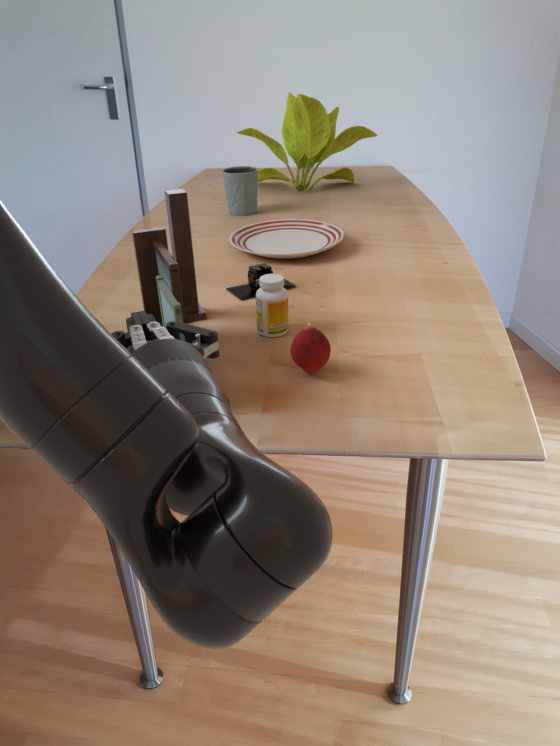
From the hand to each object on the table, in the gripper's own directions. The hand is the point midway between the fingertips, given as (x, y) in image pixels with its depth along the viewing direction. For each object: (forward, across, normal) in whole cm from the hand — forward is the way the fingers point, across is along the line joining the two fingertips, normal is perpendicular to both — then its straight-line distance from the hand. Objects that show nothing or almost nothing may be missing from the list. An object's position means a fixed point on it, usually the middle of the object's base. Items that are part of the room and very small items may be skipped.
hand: (138, 319), depth 58 cm
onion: (+9, -24, +17) cm, 31 cm away
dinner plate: (+65, -44, +17) cm, 81 cm away
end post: (+36, -13, +17) cm, 42 cm away
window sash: (+11, -3, +16) cm, 20 cm away
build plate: (+43, -29, +17) cm, 55 cm away
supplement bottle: (+24, -24, +17) cm, 38 cm away
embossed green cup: (+101, -45, +17) cm, 112 cm away
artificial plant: (+123, -76, +17) cm, 146 cm away
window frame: (+19, -6, +17) cm, 26 cm away
